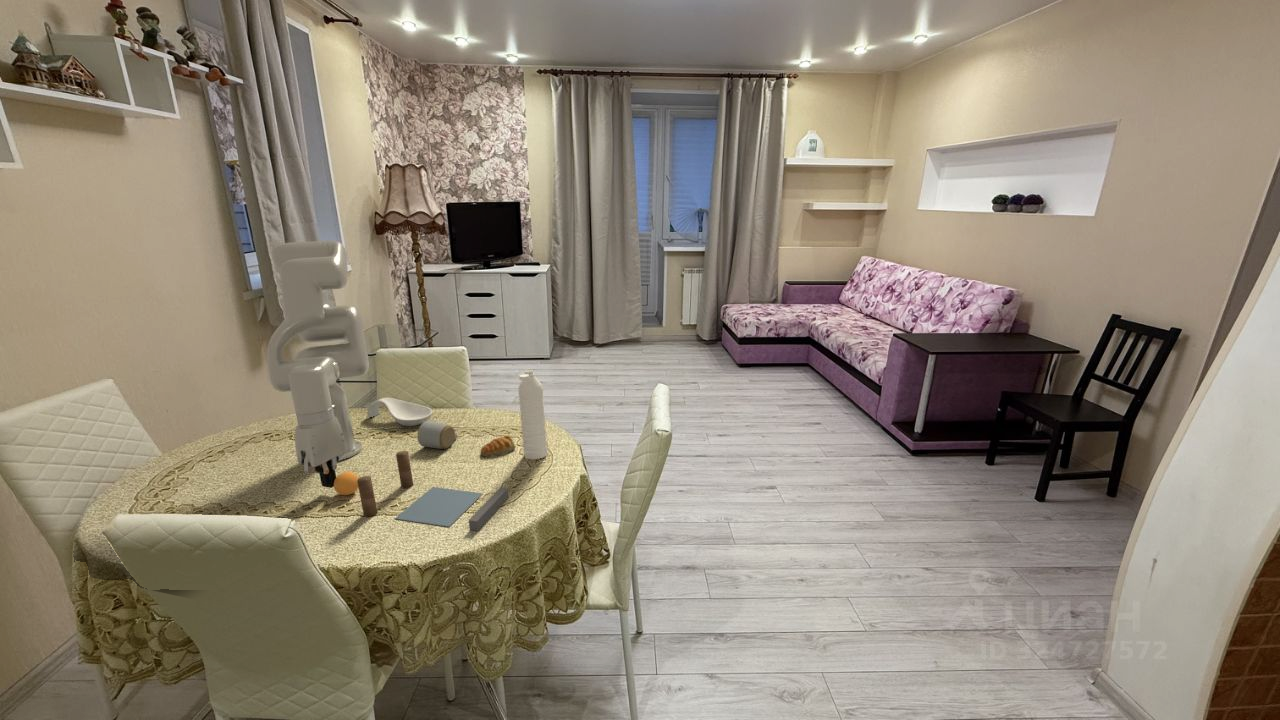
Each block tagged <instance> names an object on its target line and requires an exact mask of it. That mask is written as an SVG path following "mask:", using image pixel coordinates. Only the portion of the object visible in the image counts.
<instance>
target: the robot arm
mask: <svg viewBox="0 0 1280 720" xmlns="http://www.w3.org/2000/svg"><path fill="white" fill-rule="evenodd" d="M271 256H272V261H273V264H274V267H275V268H276V270H277V272H278V274H279V277H280V278H279V279H280V287H281V288H280V289H281V295H282V305H283V311H284V312H283V313H284V320H283V321H282V322H281V324H279V326H277V328H276V330H274V332H273V333H272V335H271V337H270V340H269V342H268V345H267V351H266V358H267V367H268V375H269V379H270V380H269V381H270V384H271V385H272V387H273V388H274V390H276V391H278V392H282V393H283V392H284V393H287V392H290V394H291V397H292V401H293V407H294V412H295V416H296V417H295V418H296V421H297V426H295V428H294V446H295V452H296V460H297V463H298V465H299V466H303V473H304V474H305V473H306V474H312V473H315V472H316V474H318V475H319V478H320V483H321V486H322V487H324V488H329V489H332V488H334V481H335V479H336V477H337V474H336V473H337V472H336V470H337V468H338V462H339V461H340V462H341V461H343V459H344V460H347V459H348V458H349V459H350V458H352V457H354V456H355V455H358V453H360V451H361V450H362V449H363V445H362V442H361V441H358V440H356V439H355V435H354V431H353V425H352V420H351V419H352V418H351V415H350V409H349V404H348V399H347V394H346V391H345V390H344V388H343V387H342V386H341V385H340V384H339V383H338V382H337V380H339V379H340V380H341V379H346V378H347V379H348V378H353V377H360V376H364V375H366V374H367V372H368V371H369V368H370V367H369V366H370V364H369V361H370V360H369V354H368V349H367V341H366V335H365V330H364V323H363V319H362V316H361V313H360V311H359V310H358V309H357V308H356V307H354V306H353V305H347V304H346V305H334V306H331V305H330V302H329V301H330V300H329V294H328V291H330V290H339V289H343V288H345V287H346V285H347V282H348V254H347V251H346V248H345V246H344V245H343V244H342V243H341V242H340V241H337V240H317V241H295V242H293V241H292V242H284V243H280V244H277V245H275V246H274V247H273V248H272V250H271ZM296 336H299V339H301V341H303V342H304V343H311V344H312V343H324V342H334V341H345V342H344V343H339V344H326V345H317V346H312V347H307V348H303V349H302V350H300V351H299V352H297V353H296V354H295V357H294V359H289V360H287V359H286V360H283V352H284V350H285V347H286V345H287V344H288V343H289V342H290V341H292V339H293V338H295V337H296ZM346 458H347V459H346Z"/></svg>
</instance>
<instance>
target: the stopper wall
mask: <svg viewBox="0 0 1280 720" xmlns="http://www.w3.org/2000/svg"><path fill="white" fill-rule="evenodd" d="M509 498H510V496H509V488H508V487H499V488H498V489H497V490H496V491H495V492H494V493H493V495H491V496H490V497H489V498H488V499H487V500H486V501H485V503H483V505H482V506H480V508H479V509H478V510H477V511H476V512H475V513H474V514H473V515H472V516H471V517H470V518H469V519H468V526H469V527H468V528H469V531H473V532H479V531H480V530H481V529H482V528H483V527H484V526H485V524H486V523H487V522H488V521H489V520H490V519H491V517H493V516H494V514H495V513H496V512H497V511H498V510H499V509H500V508H501V507H502V506H503V504H504V503H505V502H507V500H509Z"/></svg>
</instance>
